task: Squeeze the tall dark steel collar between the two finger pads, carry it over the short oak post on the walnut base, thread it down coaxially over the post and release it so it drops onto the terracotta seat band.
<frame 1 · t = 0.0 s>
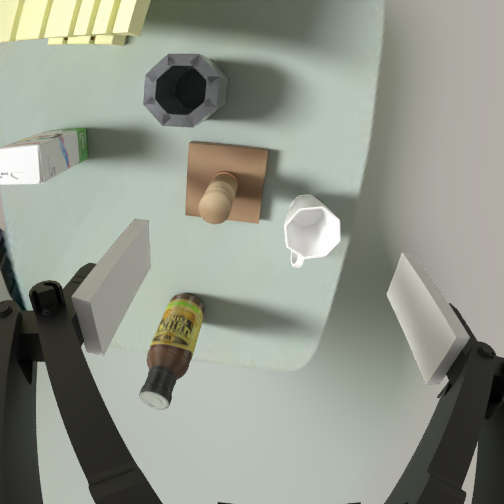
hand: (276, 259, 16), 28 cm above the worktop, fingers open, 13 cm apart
sauce bottle: (186, 305, 54), on the worktop
grey hollow octagonal piece: (195, 89, 37), on the worktop
post: (225, 180, 43), on the worktop
ink box: (65, 144, 41), on the worktop
cup: (302, 217, 45), on the worktop
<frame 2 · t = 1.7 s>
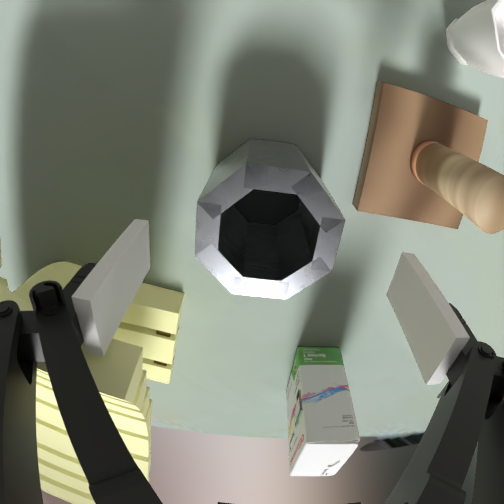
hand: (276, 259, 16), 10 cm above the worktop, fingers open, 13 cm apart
grey hollow octagonal piece: (266, 191, 25), on the worktop
slatted curved stool: (107, 320, 32), on the worktop
post: (420, 157, 23), on the worktop
ink box: (311, 370, 35), on the worktop
cup: (477, 51, 18), on the worktop
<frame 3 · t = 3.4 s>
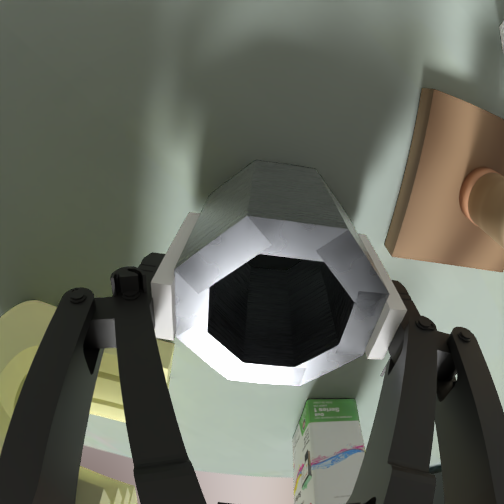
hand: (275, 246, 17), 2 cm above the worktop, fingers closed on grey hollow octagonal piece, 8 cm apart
grey hollow octagonal piece: (275, 229, 19), on the worktop, touching gripper
slatted curved stool: (90, 364, 27), on the worktop
post: (468, 186, 17), on the worktop
ink box: (321, 419, 29), on the worktop
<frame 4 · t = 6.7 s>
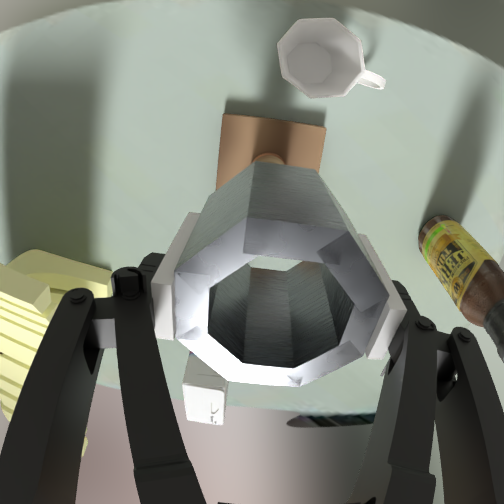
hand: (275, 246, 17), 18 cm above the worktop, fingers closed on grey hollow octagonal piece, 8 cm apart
sauce bottle: (435, 235, 36), on the worktop
grey hollow octagonal piece: (275, 230, 19), point 16 cm above the worktop, touching gripper
slatted curved stool: (66, 293, 42), on the worktop
post: (268, 165, 33), on the worktop
ink box: (215, 338, 45), on the worktop
cup: (322, 68, 28), on the worktop
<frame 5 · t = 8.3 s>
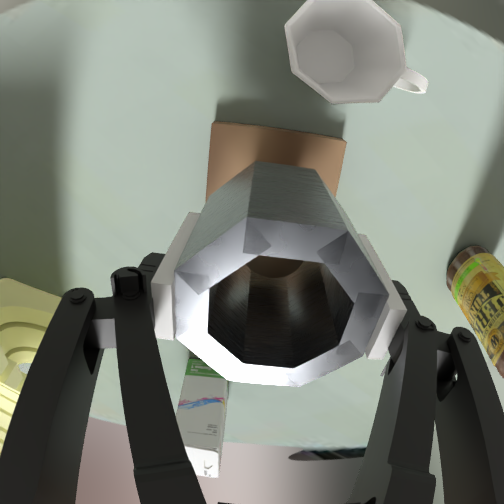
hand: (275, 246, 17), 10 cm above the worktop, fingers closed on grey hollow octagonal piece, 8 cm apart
sauce bottle: (465, 268, 29), on the worktop
grey hollow octagonal piece: (275, 230, 19), point 8 cm above the worktop, touching gripper
slatted curved stool: (43, 325, 36), on the worktop
post: (270, 188, 26), on the worktop
ink box: (209, 380, 38), on the worktop
cup: (340, 64, 21), on the worktop
when the fingers open (7 cm above the worktop, at t = 9.9 s): grey hollow octagonal piece drops 3 cm, resting on post.
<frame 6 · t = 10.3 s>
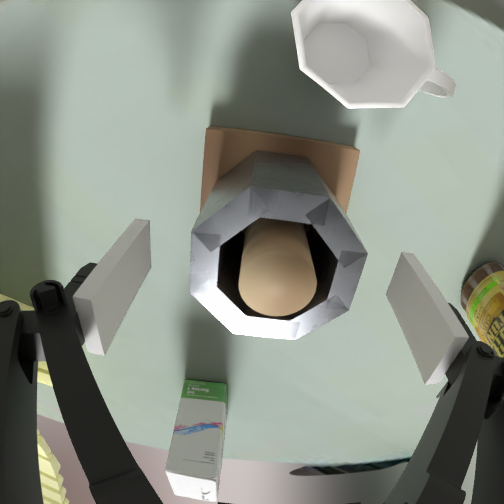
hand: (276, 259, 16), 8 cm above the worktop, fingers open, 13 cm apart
sauce bottle: (480, 285, 26), on the worktop
grey hollow octagonal piece: (273, 210, 22), point 1 cm above the worktop, touching post
slatted curved stool: (33, 341, 33), on the worktop
post: (273, 202, 23), on the worktop
ink box: (207, 400, 35), on the worktop
cup: (353, 62, 18), on the worktop
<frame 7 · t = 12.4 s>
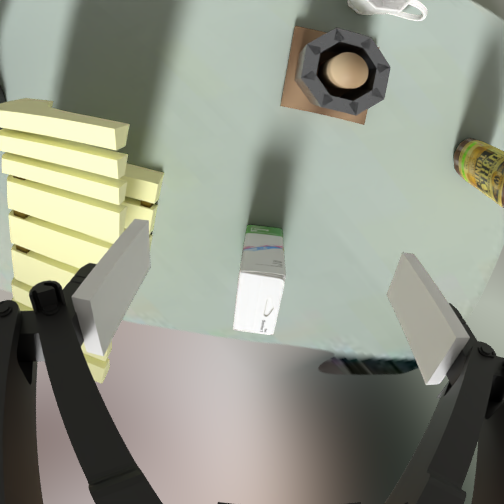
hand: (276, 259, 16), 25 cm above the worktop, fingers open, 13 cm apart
sauce bottle: (467, 158, 36), on the worktop
grey hollow octagonal piece: (331, 74, 32), point 1 cm above the worktop, touching post
slatted curved stool: (105, 202, 43), on the worktop
post: (329, 74, 33), on the worktop
ink box: (260, 253, 45), on the worktop
cup: (373, 5, 28), on the worktop
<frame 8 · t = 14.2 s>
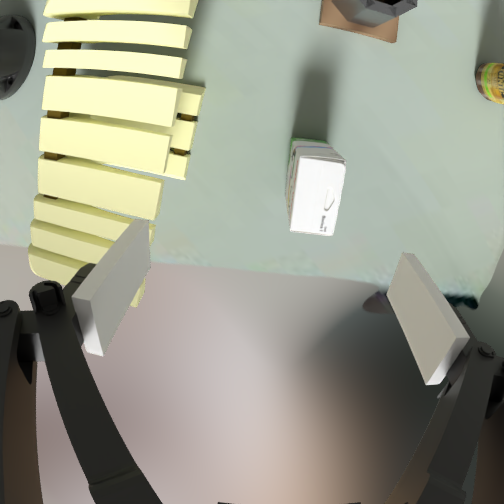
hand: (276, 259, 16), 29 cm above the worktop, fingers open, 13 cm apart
sauce bottle: (487, 82, 33), on the worktop
slatted curved stool: (140, 124, 40), on the worktop
post: (360, 1, 30), on the worktop
ink box: (305, 168, 43), on the worktop
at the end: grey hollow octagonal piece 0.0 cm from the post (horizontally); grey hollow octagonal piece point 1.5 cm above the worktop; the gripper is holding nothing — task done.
